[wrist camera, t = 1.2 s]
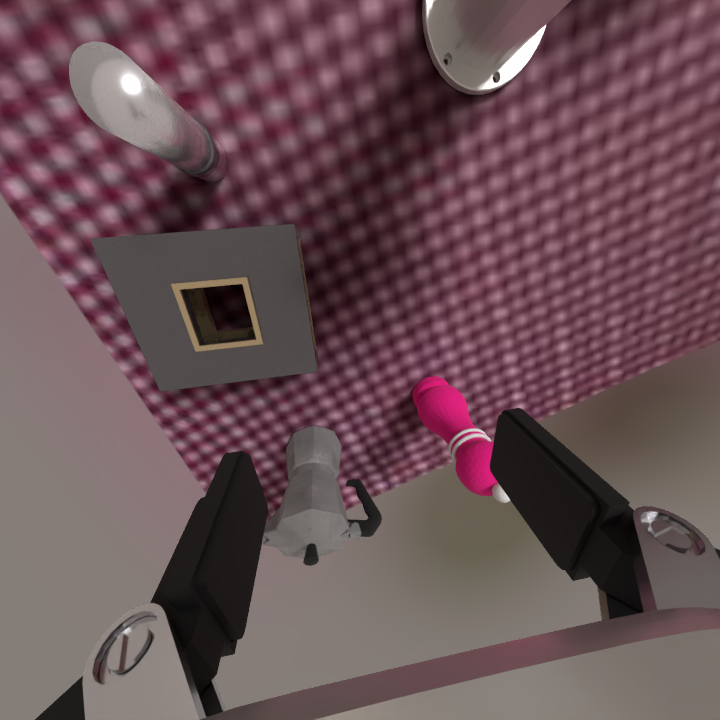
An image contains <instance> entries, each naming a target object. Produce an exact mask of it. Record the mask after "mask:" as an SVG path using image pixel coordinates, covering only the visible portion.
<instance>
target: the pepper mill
mask: <svg viewBox="0 0 720 720" xmlns="http://www.w3.org/2000/svg"><path fill="white" fill-rule="evenodd" d="M412 399H413V402H414V403H415V405H416V407H417V413H418V417H419V418H420V420H421V422H422V423H423V424H424V425H425V426H426V427H427V428H428V429H429V430H431V431H432V432H434V433H436V434H438V435H439V436H441V437H442V438H443V439H444V440H445V441H446V442H447V444H448V445H449V447H448V451H449V454H450V456H451V457H452V459H453V461H454V462H455V463H456V472H457V475H458V477H459V479H460V481H461V482H462V483H463V484H464V486H465V487H466V488H467V489H469V490H470V491H471V492H473V493H475V494H478V495H482V496H492V495H493V496H494V497H495V498H496V499H497V500H498V501H500V502H503V503H505V502H508V501H510V499H509V497H508V496H507V495H506V493H505V492H504V490H503V489H502V488H501V486H500V485H499V483H498V482H497V481H496V479H495V478H494V476H493V475H492V473H491V470H490V460H491V455H492V449H493V444H494V442H491V440H490V438H489V437H487V435H486V434H485V433H484V432H483V431H482V430H480V429H476V428H475V427H474V425H473V424H472V422H471V420H470V418H469V413H468V406H467V403H466V401H465V398H464V397H463V396H462V394H461V393H460V392H459V391H458V390H457V389H456V388H454V387H452V386H450V385H449V384H448V383H447V382H446V381H445V380H444V379H442V378H440V377H434V376H432V377H428V378H425V379H423V380H421V381H420V382H419V383H418V384H417V385H416V386H415V388H414V390H413V393H412Z"/></svg>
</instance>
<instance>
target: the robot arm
mask: <svg viewBox="0 0 720 720" xmlns="http://www.w3.org/2000/svg"><path fill="white" fill-rule="evenodd" d="M571 1H572V0H423V4H422V19H423V30H424V36H425V40H426V45H427V49H428V51H429V54H430V57H431V59H432V62H433V64H434V65H435V67H436V69H437V70H438V72H439V74H440V75H441V76H442V77H443V78H444V80H445V81H446V82H447V83H448V84H449V85H451V86H452V87H454V88H455V89H457V90H458V91H461V92H463V93H466V94H472V95H482V94H487V93H491V92H493V91H495V90H497V89H499V88H501V87H502V86H504V85H505V84H506V83H508V82H509V81H510V80H512V79H513V78H514V77H515V76H516V75H517V74H518V73H519V72H520V71H521V70H522V69H523V68H524V66H525V65H526V64H527V63H528V62H529V60H530V59H531V57H532V55H533V54H534V52H535V50H536V49H537V47H538V45H539V43H540V40H541V38H542V36H543V33H544V31H545V28H546V24H547V23H548V22H549V21H550V20H552V19H553V18H554V17H555V16H556V15H557V14H558V13H559V12H560V11H561V10H562V9H563V8H564V7H565V6H566V5H567V4H568V3H569V2H571ZM444 61H445V62H446V64H445V63H444ZM490 470H491V473H492V475H493V476H494V478H495V479H496V481H497V482H498V483H499V485H500V486H501V488H502V489H503V490H504V492H505V493H506V495H507V496H508V497H509V499H510V500H511V502H512V503H513V504H514V506H515V507H516V509H517V510H518V511H519V513H520V514H521V516H522V517H523V518H524V520H525V521H526V522H527V524H528V525H529V527H530V528H531V529H532V531H533V532H534V534H535V535H536V536H537V538H538V539H539V541H540V542H541V543H542V545H543V546H544V548H545V549H546V550H547V552H548V553H549V555H550V556H551V558H552V559H553V560H554V562H555V563H556V564H557V566H559V567H560V568H561V569H562V570H565V571H566V572H567V573H568V575H569V576H570V578H571V579H572V580H573V581H574V580H578V579H584V578H588V577H591V578H592V580H593V581H594V582H595V584H596V585H597V586H598V594H599V603H600V610H601V618H602V621H599V622H594V623H590V624H585V625H581V626H576V627H572V628H567V629H563V630H559V631H554V632H550V633H546V634H541V635H537V636H532V637H528V638H523V639H519V640H514V641H510V642H506V643H501V644H497V645H493V646H489V647H484V648H480V649H475V650H471V651H467V652H462V653H458V654H454V655H449V656H445V657H441V658H436V659H432V660H428V661H424V662H419V663H415V664H411V665H406V666H402V667H398V668H394V669H389V670H385V671H381V672H377V673H373V674H368V675H364V676H360V677H356V678H352V679H348V680H343V681H339V682H335V683H331V684H326V685H322V686H318V687H314V688H310V689H306V690H301V691H297V692H294V693H290V694H286V695H282V696H278V697H275V698H271V699H267V700H264V701H259V702H255V703H252V704H248V705H244V706H240V707H236V708H233V709H230V710H227V709H226V706H225V704H224V702H223V699H222V696H221V694H220V691H219V688H218V686H217V683H216V681H215V678H214V677H215V676H216V674H217V671H218V667H219V662H220V658H221V657H223V656H228V655H232V654H235V648H236V644H237V640H238V639H241V638H242V637H243V635H244V632H245V628H246V623H247V617H248V612H249V607H250V602H251V597H252V591H253V586H254V581H255V576H256V571H257V566H258V561H259V555H260V550H261V545H262V540H263V535H264V530H265V524H266V519H267V514H268V506H267V502H266V499H265V496H264V493H263V491H262V488H261V485H260V482H259V479H258V476H257V474H256V471H255V468H254V465H253V462H252V459H251V457H250V455H249V454H246V455H245V453H244V452H243V451H238V452H232V453H226V454H224V456H223V458H222V460H221V462H220V464H219V467H218V469H217V471H216V473H215V476H214V478H213V480H212V482H211V485H210V487H209V489H208V491H207V494H206V496H205V497H204V498H201V499H200V500H199V501H198V503H197V504H196V506H195V508H194V510H193V512H192V515H191V517H190V519H189V521H188V523H187V526H186V528H185V530H184V532H183V534H182V536H181V538H180V540H179V543H178V545H177V547H176V549H175V551H174V553H173V556H172V558H171V560H170V562H169V564H168V566H167V568H166V571H165V573H164V575H163V577H162V579H161V581H160V583H159V586H158V588H157V590H156V592H155V594H154V596H153V598H152V601H151V603H148V604H143V605H140V606H138V607H136V608H133V609H132V610H130V611H129V612H127V613H126V614H124V615H123V616H121V617H120V618H119V619H118V620H117V621H116V622H115V623H114V624H113V625H111V626H110V627H109V629H108V630H107V631H106V632H105V634H104V635H103V636H102V637H101V638H100V639H99V641H98V642H97V644H96V646H95V647H94V649H93V651H92V652H91V654H90V656H89V658H88V661H87V664H86V666H85V668H84V674H83V676H82V677H81V678H80V679H79V680H78V681H77V682H76V683H75V684H74V685H72V686H71V687H70V688H69V689H68V690H67V691H66V692H65V693H64V694H63V695H61V696H60V697H59V698H58V699H57V700H56V701H55V702H54V703H53V704H52V705H51V706H49V708H47V709H46V710H45V711H44V712H43V713H42V714H41V715H40V716H39V717H37V718H36V719H35V720H720V550H718V549H716V548H714V546H713V545H712V544H711V542H710V541H709V539H708V538H707V537H706V536H705V535H704V534H703V533H702V532H701V531H700V530H699V529H698V528H696V527H695V526H694V525H692V524H691V523H689V522H688V521H687V520H685V519H683V518H681V517H679V516H678V515H676V514H674V513H671V512H669V511H666V510H664V509H660V508H656V507H651V506H649V507H648V506H642V507H639V508H637V509H636V510H635V511H634V510H633V509H632V508H630V506H628V505H629V501H628V500H626V499H625V498H624V497H623V496H622V495H621V494H619V493H618V492H617V491H616V490H615V489H613V487H611V486H610V485H609V484H608V483H607V482H606V481H604V480H603V479H602V478H601V477H600V476H599V475H598V474H596V473H595V472H594V471H593V470H592V469H590V468H589V467H588V466H587V465H586V464H585V463H583V462H582V461H581V460H580V459H579V458H578V457H577V456H575V455H574V454H573V453H572V452H571V451H570V450H569V449H567V448H566V447H565V446H564V445H563V444H562V443H560V442H559V441H558V440H557V439H556V438H555V437H554V436H552V435H551V434H550V433H549V432H548V431H547V430H545V429H544V428H543V427H542V426H541V425H540V424H539V423H537V422H536V421H535V420H534V419H533V418H532V417H531V416H529V415H528V414H527V413H526V412H525V411H524V410H522V409H520V408H516V409H509V410H504V411H503V412H502V414H501V415H499V417H498V421H497V427H496V432H495V438H494V444H493V449H492V455H491V460H490Z"/></svg>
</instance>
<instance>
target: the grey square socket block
mask: <svg viewBox="0 0 720 720" xmlns="http://www.w3.org/2000/svg"><path fill="white" fill-rule="evenodd" d="M300 238H301V237H300V230H299V226H297V225H295V224H286V225H272V226H259V227H245V228H231V229H217V230H204V231H190V232H176V233H162V234H149V235H135V236H121V237H107V238H93V239H91V241H92V244H93V246H94V248H95V250H96V252H97V255H98V257H99V259H100V261H101V263H102V265H103V268H104V270H105V272H106V274H107V276H108V279H109V281H110V283H111V285H112V287H113V289H114V292H115V294H116V296H117V298H118V300H119V303H120V305H121V307H122V309H123V311H124V313H125V316H126V318H127V320H128V322H129V324H130V327H131V329H132V331H133V333H134V335H135V337H136V340H137V342H138V344H139V346H140V348H141V351H142V353H143V355H144V357H145V359H146V362H147V364H148V366H149V368H150V370H151V372H152V375H153V377H154V379H155V381H156V383H157V386H158V388H159V390H160V391H168V390H176V389H184V388H192V387H200V386H208V385H216V384H224V383H232V382H240V381H248V380H256V379H264V378H272V377H280V376H288V375H296V374H304V373H312V372H317V368H318V349H317V344H316V341H315V334H314V328H313V321H312V315H311V308H310V301H309V295H308V288H307V282H306V275H305V269H304V262H303V256H302V249H301V242H300ZM236 284H242V285H243V289H244V293H245V296H246V300H247V304H248V308H249V312H250V316H251V320H252V324H253V327H247V328H238V329H229V330H219V331H217V330H216V327H215V324H214V321H213V317H212V314H211V311H210V308H209V305H208V302H207V298H206V295H205V292H204V289H203V287H214V286H225V285H236Z"/></svg>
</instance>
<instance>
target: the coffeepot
mask: <svg viewBox="0 0 720 720" xmlns="http://www.w3.org/2000/svg"><path fill="white" fill-rule="evenodd" d="M341 448H342V446H341V444H340V442H339V440H338V438H337V436H336V434H335V432H334V431H332V430H329V429H327V428H324V427H320V426H310V427H306V428H303V429H301V430H299V431H298V432H295V433H293V435H292V437H291V439H290V441H289V444H288V446H287V448H286V458H287V471H288V479H289V481H290V482H289V484H288V486H287V489H286V491H285V494H284V497H283V500H282V503H281V506H280V508H279V509H278V510H277V511H276V513H275V514H274V515H273V516H272V518H271V519H270V520H269V521H268V523H267V524H266V525H265V530H264V535H263V540H262V543H264V545H267V546H273V547H277V548H278V549H279V550H280V551H281V552H282V554H283V555H284V556H291V557H298V558H304V563H305V565H314V564H316V563H317V562H318V560H319V559H318V557H320V556H323V555H326V554H329V553H332V552H334V551H337V550H339V549H340V547H341V546H342V544H343V543H344V542H345V540H346V539H347V540H350V539H359V537H363V536H364V537H370V536H372V535H373V534H374V533H375V531H376V530H377V528H378V527H379V525H380V524H381V520H382V517H381V514H380V512H379V510H378V509H377V507H376V505H375V504H374V502H373V501H372V499H371V497H370V495H369V494H368V492H367V490H366V489H365V487H364V485H363V484H362V482H361V481H360V480H359V479H353V480H348V481H347V484H346V486H353V487H355V488H356V491H357V496H358V498H359V499H360V501H361V502H362V504H363V507H364V510H365V513H366V514H367V516H368V517H369V518H368V519H367V520H348V519H347V515H346V511H345V507H344V503H343V499H342V495H341V491H340V488H339V485H338V483H337V481H336V478H337V476H338V471H339V463H340V456H341Z"/></svg>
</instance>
